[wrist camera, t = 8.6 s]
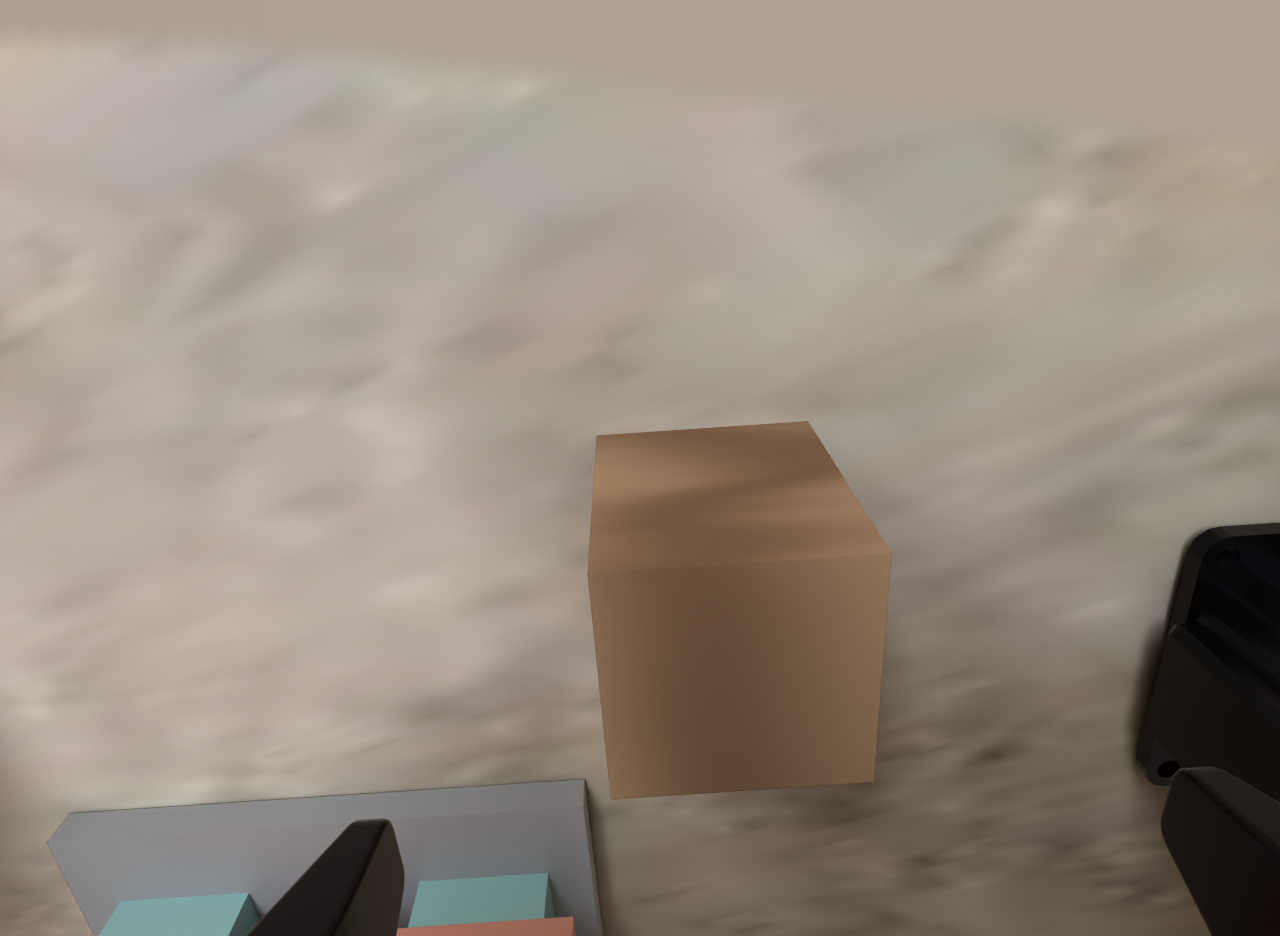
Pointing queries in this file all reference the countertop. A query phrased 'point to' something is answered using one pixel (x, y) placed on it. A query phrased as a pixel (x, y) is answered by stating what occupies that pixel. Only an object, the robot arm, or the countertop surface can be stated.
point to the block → (734, 612)
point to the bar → (498, 928)
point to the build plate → (304, 828)
